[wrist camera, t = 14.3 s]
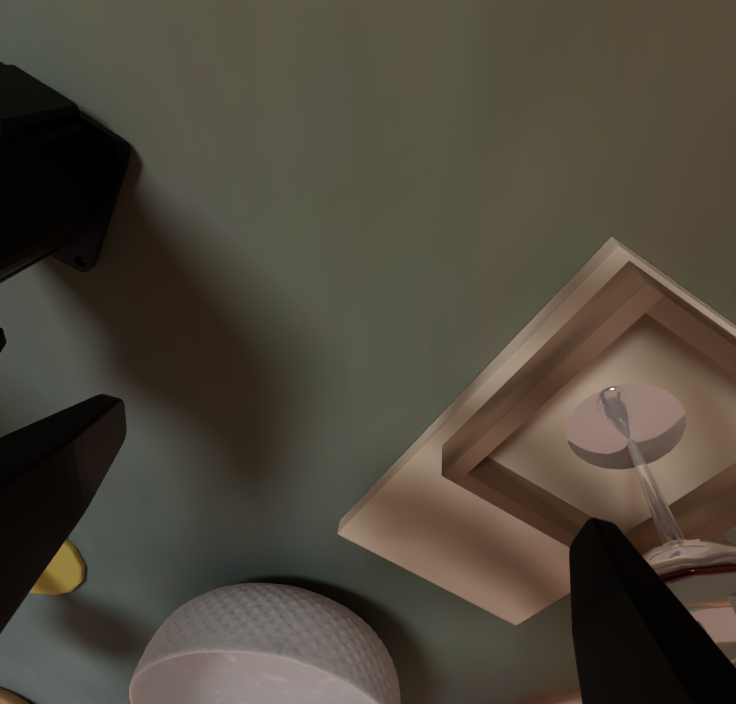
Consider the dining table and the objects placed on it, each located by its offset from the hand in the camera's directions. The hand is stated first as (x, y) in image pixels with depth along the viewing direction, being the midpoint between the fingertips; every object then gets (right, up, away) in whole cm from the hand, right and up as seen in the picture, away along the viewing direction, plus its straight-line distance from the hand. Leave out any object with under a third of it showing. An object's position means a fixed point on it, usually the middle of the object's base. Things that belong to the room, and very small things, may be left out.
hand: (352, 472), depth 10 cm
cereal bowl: (-5, -17, +27) cm, 32 cm away
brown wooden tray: (+10, -4, +16) cm, 19 cm away
